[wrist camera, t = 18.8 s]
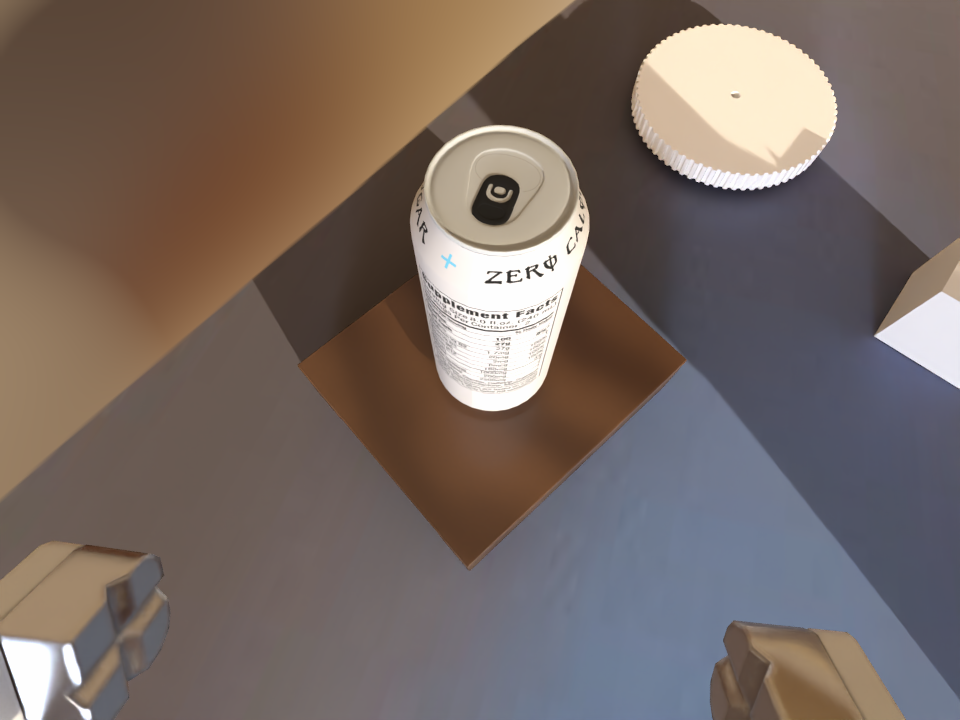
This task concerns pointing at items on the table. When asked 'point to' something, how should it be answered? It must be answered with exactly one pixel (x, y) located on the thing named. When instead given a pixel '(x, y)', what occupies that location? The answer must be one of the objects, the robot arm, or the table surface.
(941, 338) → the white cube
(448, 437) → the platform
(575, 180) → the energy drink can
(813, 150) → the plastic lid
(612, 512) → the table surface
